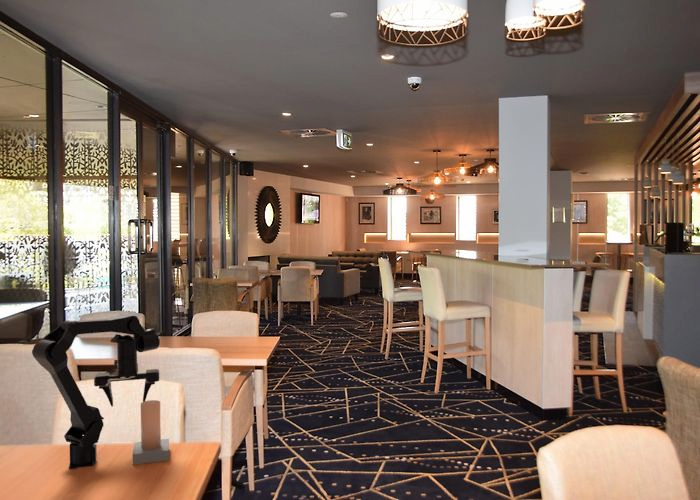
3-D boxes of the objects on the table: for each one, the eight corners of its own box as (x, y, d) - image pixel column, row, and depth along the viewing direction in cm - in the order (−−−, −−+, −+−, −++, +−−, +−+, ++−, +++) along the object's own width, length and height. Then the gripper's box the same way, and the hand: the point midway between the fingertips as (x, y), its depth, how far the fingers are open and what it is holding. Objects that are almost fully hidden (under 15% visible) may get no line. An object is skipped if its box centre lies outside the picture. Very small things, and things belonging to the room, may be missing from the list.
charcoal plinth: (132, 464, 168) (132, 454, 168) (134, 452, 178) (134, 442, 178) (169, 460, 171) (168, 450, 171) (168, 448, 181) (168, 438, 181)
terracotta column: (147, 451, 171) (146, 406, 170) (137, 446, 175) (137, 403, 174) (164, 446, 175) (163, 402, 174) (155, 441, 179) (154, 399, 178)
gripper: (159, 348, 193) (159, 395, 193) (97, 352, 187) (98, 400, 188) (158, 355, 182) (159, 404, 183) (93, 359, 176) (94, 410, 177)
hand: (128, 404), depth 183 cm, fingers open, 9 cm apart
